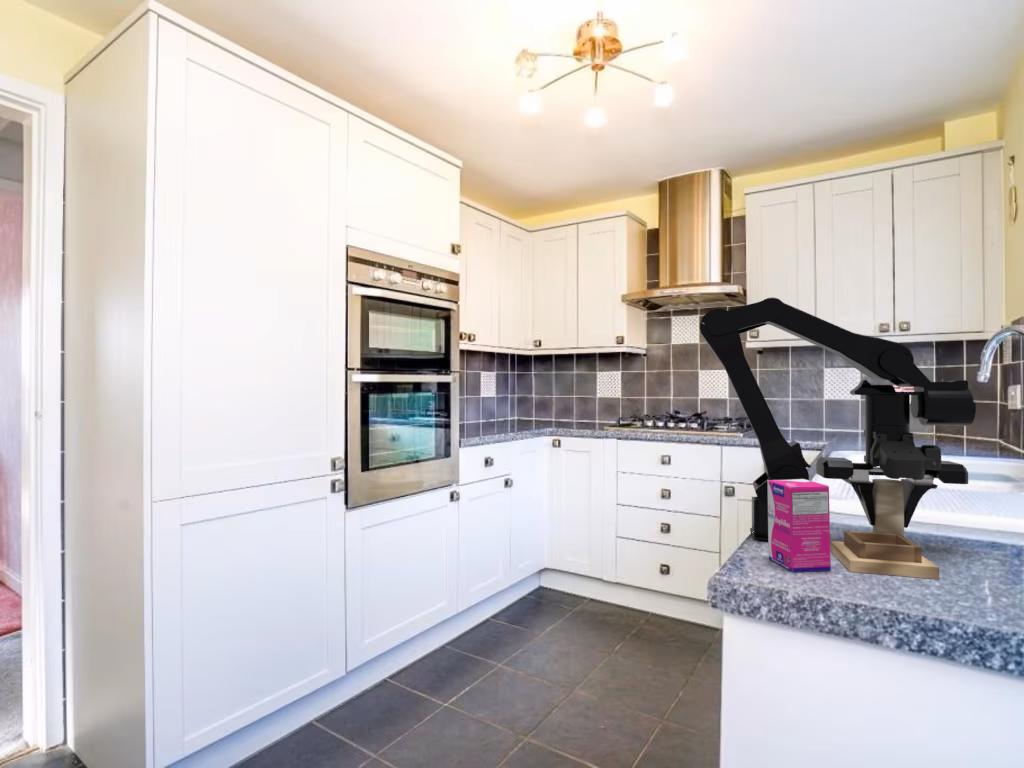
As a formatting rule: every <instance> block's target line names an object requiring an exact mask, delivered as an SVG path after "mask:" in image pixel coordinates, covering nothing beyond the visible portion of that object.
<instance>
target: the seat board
mask: <svg viewBox="0 0 1024 768" xmlns="http://www.w3.org/2000/svg"><path fill="white" fill-rule="evenodd" d="M830 553H832V554H833V556H835V557H836V558H837V560H839V561H840V563H841V564H843V566H844V567H845V568H846V569H847V570H848V572H850V573H862V574H875V575H884V576H885V575H886V576H898V577H910V578H919V579H921V578H922V579H933V580H940V567H939V566H938V565H937V564H935V563H933V562H932V561H930V560H929V559H927V558H926V557H924V556H923V555H922V554H923V553H922V547H921V546H919V545H918V544H916V543H914V542H913V541H912V540H910V539H909V538H907V537H905V535H904V536H902V535H901V534H888V533H873V531H872V532H870V531H869V532H868V531H854V530H843V541H838V540H837V541H836V540H835V541H834V540H830Z"/></svg>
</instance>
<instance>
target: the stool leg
mask: <svg viewBox="0 0 1024 768" xmlns="http://www.w3.org/2000/svg"><path fill="white" fill-rule="evenodd" d="M871 482H873V483H874V487H873V502H874V511H875V525H874V526H872V532H873V533H888V534H901V535H902V536H904V537H905V528H904V482H903V481H901V480H900V479H891V478H873V479H872V480H871Z"/></svg>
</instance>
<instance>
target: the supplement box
mask: <svg viewBox="0 0 1024 768" xmlns="http://www.w3.org/2000/svg"><path fill="white" fill-rule="evenodd" d="M767 482H768V559H769V560H770V561H771V562H774V563H776V564H778V565H779V566H782V567H783V568H785V569H786V570H788V571H790V572H792V573H799V572H801V573H802V572H831V571H832V569H831V568H832V565H831V561H832V560H831V527H830V526H831V522H830V520H831V519H830V518H831V517H830V487H829V485H827V484H823V483H819V482H816V481H812V480H810V479H809V480H805V479H792V480H768V481H767Z"/></svg>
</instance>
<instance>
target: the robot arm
mask: <svg viewBox="0 0 1024 768" xmlns="http://www.w3.org/2000/svg"><path fill="white" fill-rule="evenodd" d="M767 325H769V326H772V327H774V328H777V329H779V330H781V331H784V332H785V333H787V334H790V335H793V336H795V337H797V338H799V339H801V340H803V341H806V342H808V343H811V344H813V345H815V346H817V347H819V348H822V349H824V350H826V351H828V352H831V353H832V354H835V355H837V356H839V358H841V359H843V361H845V362H847V364H849V366H851V367H853V368H854V369H856V370H857V371H859V372H860V373H861V374H864V375H865V376H866V377H868V378H869V379H871V380H874V381H877V382H885V381H888V382H889V383H891V384H871V383H870V382H869V381H868V380H866V379H864V380H863V379H861V380H860V382H859V383H858V385H857V386H855V387H854V388H853V389H851V390H850V391H849V394H850V395H852V396H864V409H865V410H864V411H865V412H864V414H865V415H864V419H865V421H864V423H865V424H864V425H865V426H864V427H865V428H864V429H863V437H864V439H865V440H864V441H865V442H864V443H865V455H863V462H853V461H852V460H850V459H848V458H845V457H835V456H834V457H832V456H831V457H828V456H820V457H819V458H818V459H817V461H816V465H815V467H816V469H815V472H816V474H817V475H819V476H820V477H822V478H824V479H832V480H833V479H834V480H842V481H843V482H845V483H848V484H849V485H851V487H852V488H853V490H854V492H855V494H856V496H857V498H858V500H859V503H860V505H861V507H862V509H863V511H864V515H865V517H866V519H867V521H868V524H869V525H870V526H872V527H873V526H874V525H875V511H874V502H873V487H874V483H873V482H872V480H871V481H870V476H885V477H886V478H887V479H892V480H900V481H903V482H904V529H906V528H908V527H909V524H910V523H911V520H912V519H913V516H914V513H915V511H916V509H917V506H918V505H919V502H920V501H921V499H922V498H923V496H924V495H925V494H926V493H927V492H929V490H932V489H933V490H935V489H938V486H939V485H938V484H935V483H934V480H935V479H938V480H939V481H940V482H942V484H949V485H950V484H952V485H954V484H955V485H968V484H969V472H968V470H967V468H966V467H965V466H964V464H961V463H958V462H954V461H950V460H942V449H941V448H940V447H939V445H936V444H922V445H921V446H916V444H915V440H914V439H915V437H914V432H911V417H910V416H912V418H913V419H918V421H919V423H920V424H921V425H922V426H946V427H947V426H949V427H950V426H953V427H954V426H956V427H960V426H961V427H969V426H972V424H973V423H974V421H975V418H976V412H977V404H976V401H974V396H973V393H972V392H971V390H970V389H969V381H968V380H966V379H963V380H961V379H960V380H959V379H958V380H950V381H931V380H930V379H929V378H928V377H927V375H926V374H924V372H923V371H922V370H921V369H919V367H918V366H917V365H916V364H915V362H914V359H915V358H914V355H913V353H912V350H911V349H910V348H909V347H907V346H906V345H904V344H903V343H900V342H896V341H892V340H889V339H888V340H887V339H885V338H880V337H876V336H870V335H865V334H860V333H856V332H852V331H851V330H847V329H845V328H843V327H841V326H838V325H836V324H834V323H832V322H829V321H827V320H824V319H822V318H820V317H818V316H815V315H813V314H811V313H808V312H806V311H803V310H801V309H799V308H797V307H794V306H792V305H789V304H787V303H785V302H783V301H782V300H781V299H780V298H777V297H767V298H765V299H763V300H761V301H760V300H759V301H758V302H754V303H750V304H746V305H741V306H739V307H735V308H732V309H728V310H727V309H723V308H715V309H712V310H709V311H708V312H706V313H705V314H704V315H703V316H702V318H701V320H700V322H699V330H700V333H701V336H702V338H703V340H704V342H705V343H706V344H707V346H708V347H709V349H710V350H711V352H713V354H714V355H715V356H716V358H717V360H718V361H719V362H720V364H721V365H722V367H723V368H724V369H725V372H726V374H727V376H728V378H729V382H730V383H731V384H732V387H733V389H734V392H735V394H736V396H737V397H738V400H739V402H740V404H741V406H742V408H743V409H742V410H743V411H744V413H745V416H746V417H747V419H748V422H749V424H750V426H751V427H752V431H753V432H754V435H755V437H756V439H757V440H758V441H757V442H758V445H759V449H760V454H761V460H762V463H763V466H764V470H765V472H763V473H762V474H761V475H760V476H758V477H757V478H756V479H755V480H753V482H752V485H753V488H754V491H755V495H756V496H751V527H750V528H749V531H750V534H751V533H752V532H753V531H754V532H753V533H752V534H751V536H752V538H753V539H754V540H756V541H765V542H767V541H768V482H767V481H768V480H792V479H805V480H809V481H810V474H809V471H808V468H810V469H811V467H812V466H811V465H810V464H809V463H808V461H807V460H806V459H805V457H804V454H803V451H802V447H801V445H800V443H799V442H798V441H796V440H794V439H793V440H791V441H789V442H788V441H787V439H786V438H785V436H784V435H783V434H782V433H781V430H780V428H779V426H778V424H777V422H776V420H775V417H774V416H773V413H772V412H771V409H770V407H769V405H768V403H767V401H766V399H765V396H764V395H763V392H762V390H761V388H760V386H759V384H758V382H757V380H756V378H755V376H754V374H753V371H752V369H751V367H750V365H749V363H748V361H747V359H746V356H745V351H744V347H743V343H742V340H741V334H745V333H747V332H749V331H753V330H755V329H758V328H760V327H764V326H767ZM894 385H895V386H896V387H898V388H913V391H896V389H895V387H894ZM910 413H911V414H910Z"/></svg>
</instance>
